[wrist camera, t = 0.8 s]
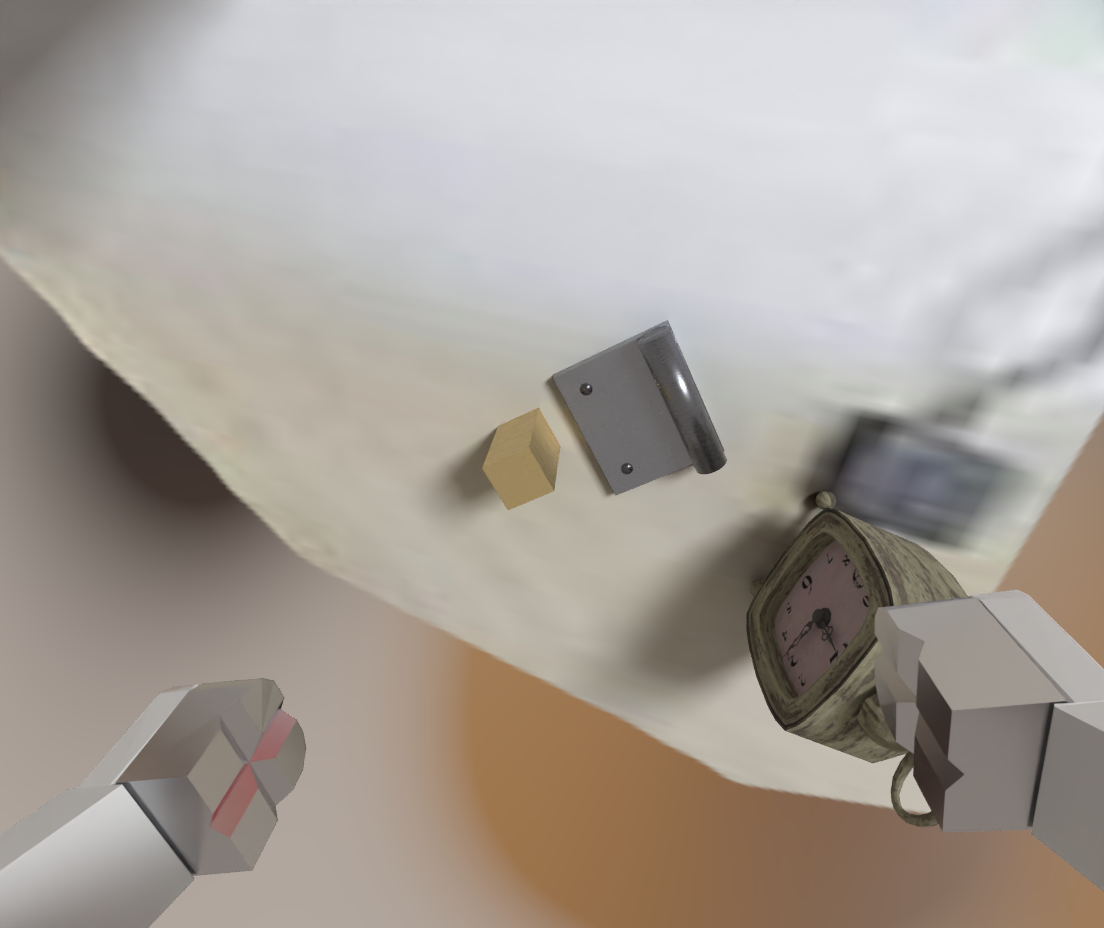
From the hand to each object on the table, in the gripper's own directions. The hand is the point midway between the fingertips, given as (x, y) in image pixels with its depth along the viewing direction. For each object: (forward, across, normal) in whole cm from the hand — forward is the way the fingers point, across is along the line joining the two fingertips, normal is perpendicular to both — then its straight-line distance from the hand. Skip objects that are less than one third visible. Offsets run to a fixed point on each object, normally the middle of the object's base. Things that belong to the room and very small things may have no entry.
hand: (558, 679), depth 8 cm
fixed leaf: (+42, -1, +12) cm, 44 cm away
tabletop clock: (+42, -15, +29) cm, 53 cm away
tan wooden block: (+42, +8, +13) cm, 44 cm away
